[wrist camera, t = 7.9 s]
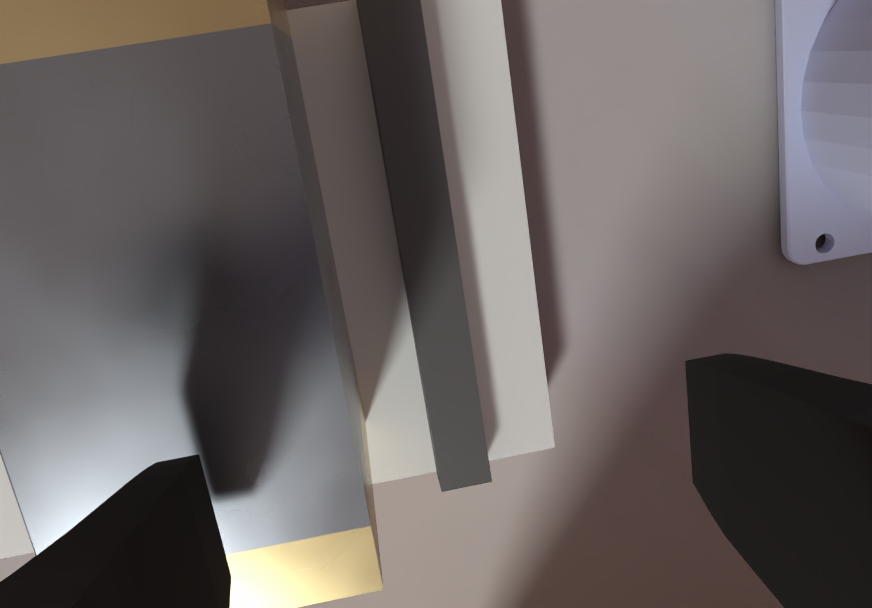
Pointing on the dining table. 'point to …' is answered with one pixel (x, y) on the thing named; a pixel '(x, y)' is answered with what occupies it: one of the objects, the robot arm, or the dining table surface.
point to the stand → (419, 236)
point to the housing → (177, 286)
